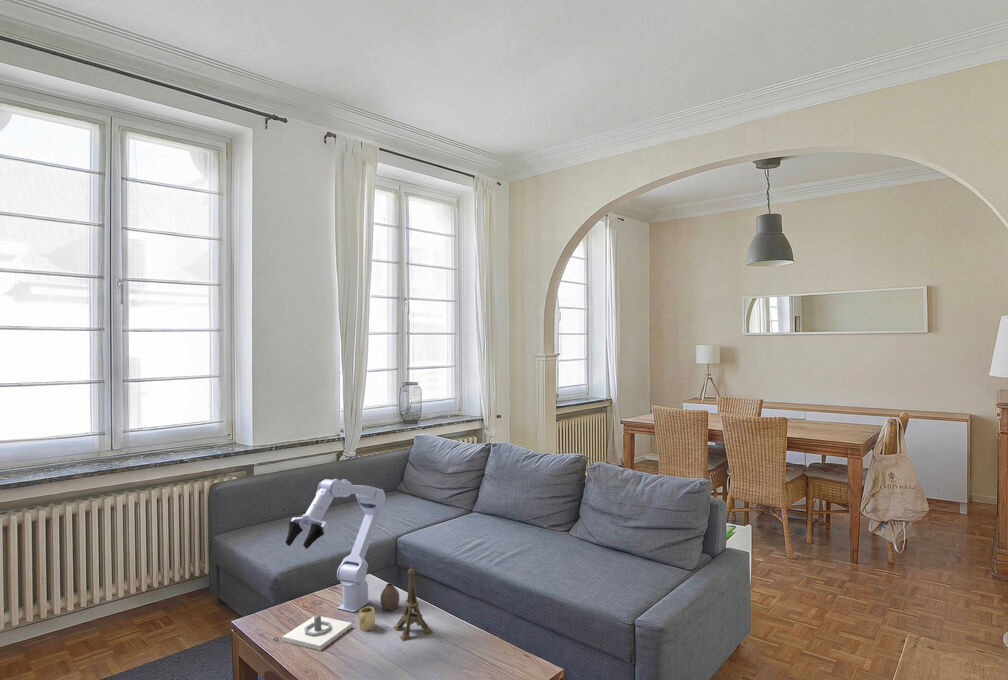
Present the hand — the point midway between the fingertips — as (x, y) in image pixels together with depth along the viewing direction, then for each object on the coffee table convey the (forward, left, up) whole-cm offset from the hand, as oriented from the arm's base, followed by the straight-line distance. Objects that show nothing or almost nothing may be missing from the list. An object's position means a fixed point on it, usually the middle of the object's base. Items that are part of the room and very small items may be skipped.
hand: (296, 545), depth 195 cm
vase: (-32, +14, -33) cm, 47 cm away
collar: (-17, +15, -32) cm, 39 cm away
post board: (-7, +2, -32) cm, 33 cm away
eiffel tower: (-21, +31, -33) cm, 50 cm away
